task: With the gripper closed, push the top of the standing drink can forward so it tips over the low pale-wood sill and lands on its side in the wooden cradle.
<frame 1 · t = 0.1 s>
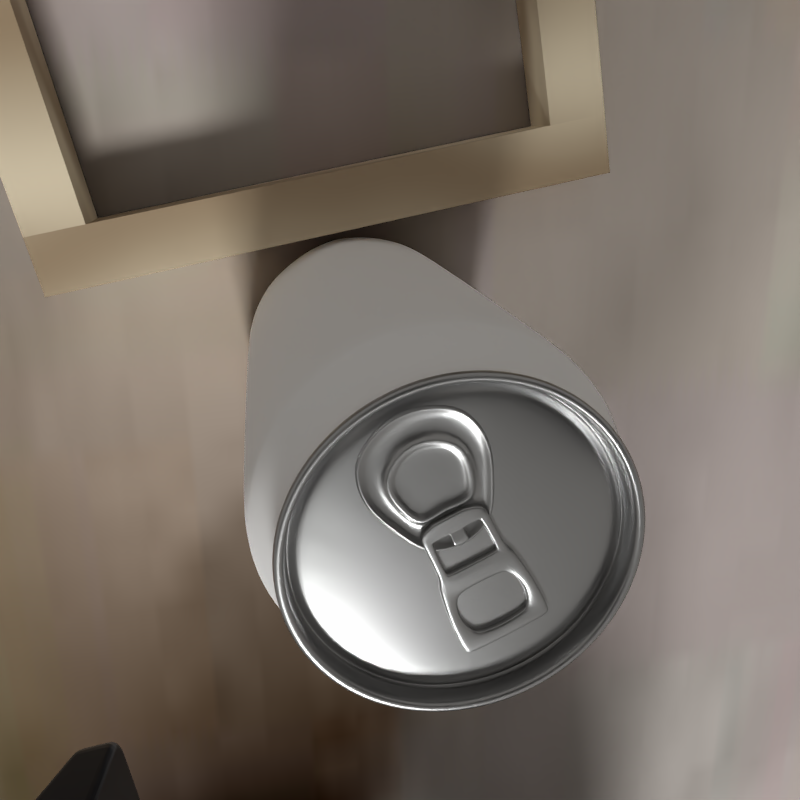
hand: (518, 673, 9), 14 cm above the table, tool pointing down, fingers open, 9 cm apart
cradle: (327, 198, 20), on the table
can: (359, 344, 22), on the table
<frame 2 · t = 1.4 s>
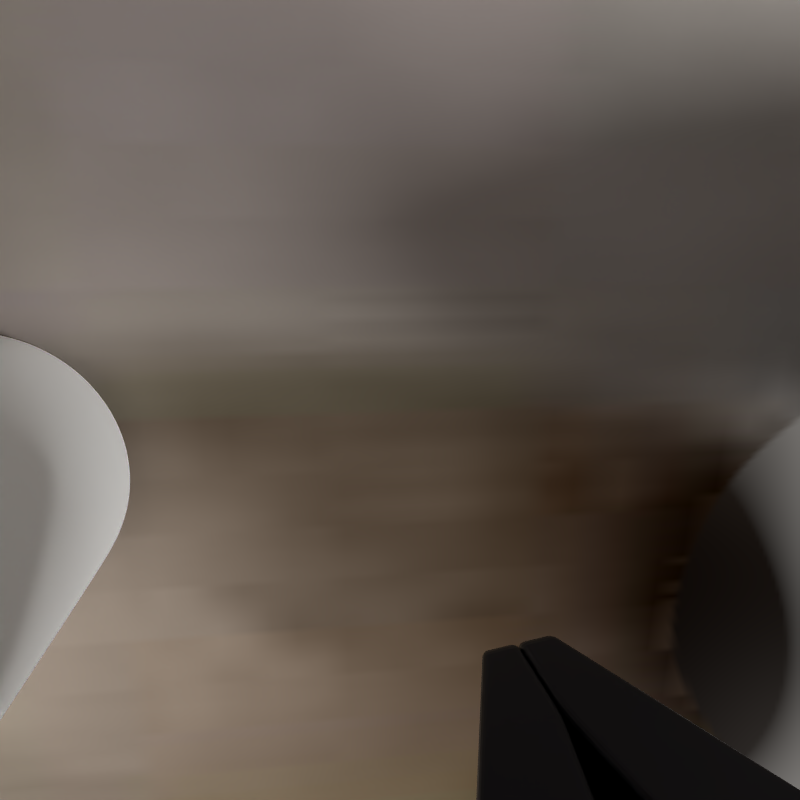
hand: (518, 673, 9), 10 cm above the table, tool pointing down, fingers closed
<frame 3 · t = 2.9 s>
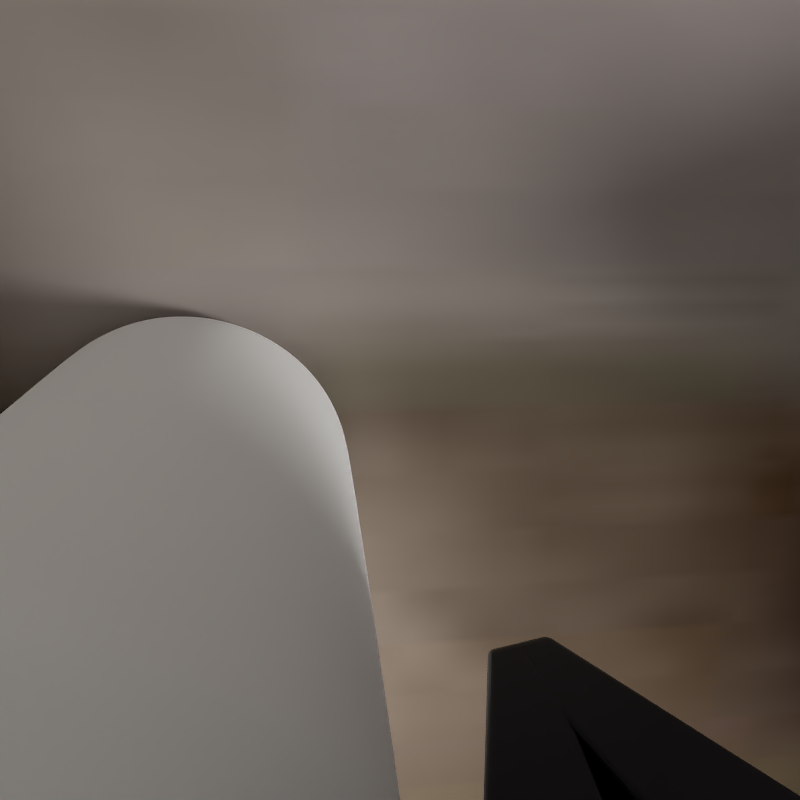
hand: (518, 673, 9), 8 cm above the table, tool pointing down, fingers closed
can: (195, 458, 16), on the table, touching gripper
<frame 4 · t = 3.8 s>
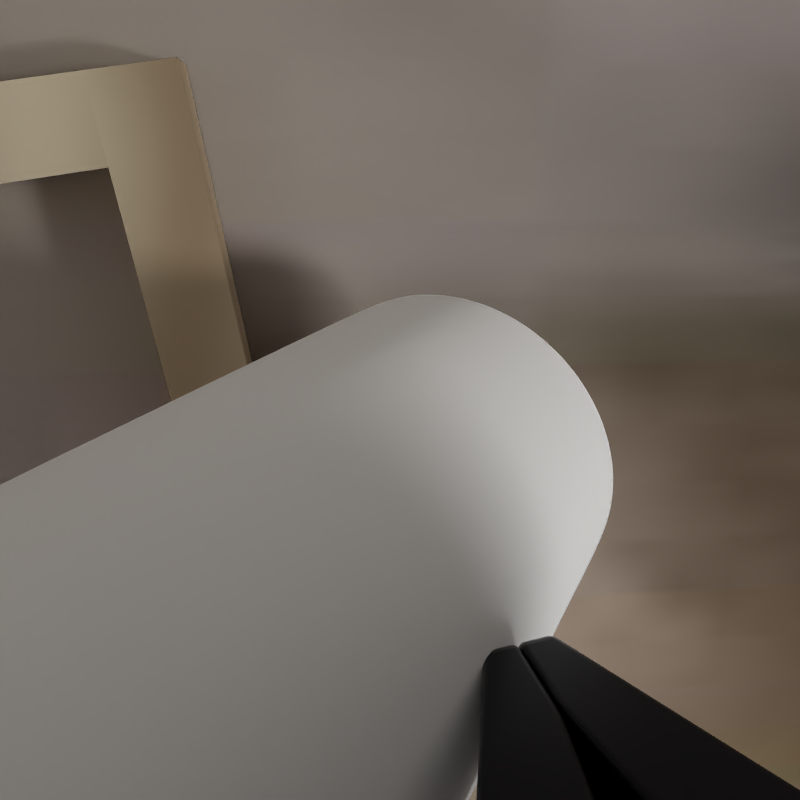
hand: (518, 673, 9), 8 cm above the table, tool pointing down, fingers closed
cradle: (235, 448, 16), on the table
can: (458, 445, 15), point 2 cm above the table
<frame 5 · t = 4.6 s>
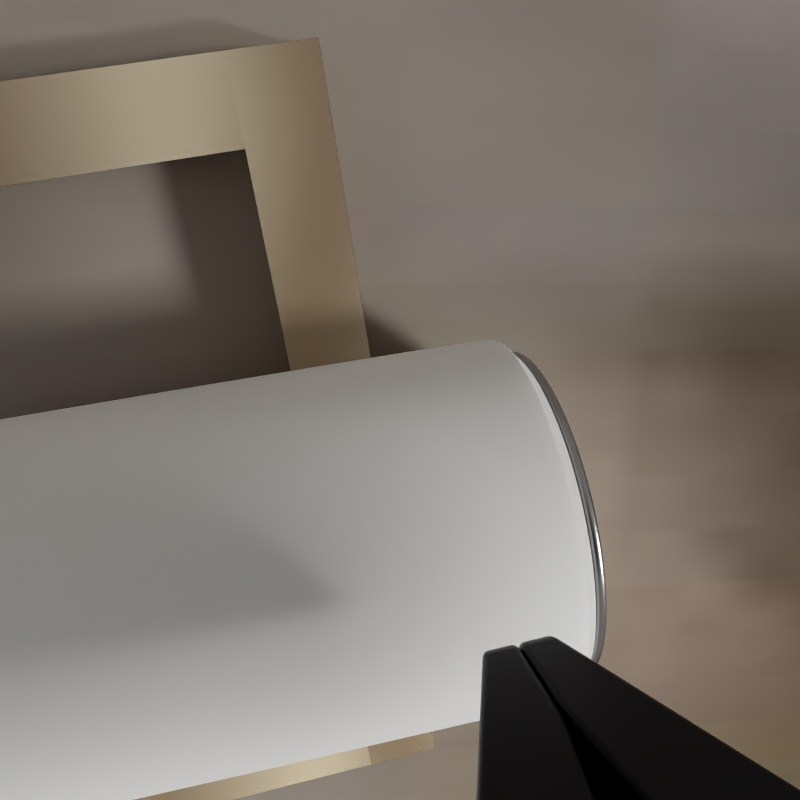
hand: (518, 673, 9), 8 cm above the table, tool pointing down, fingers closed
cradle: (341, 435, 16), on the table
can: (549, 507, 14), point 3 cm above the table
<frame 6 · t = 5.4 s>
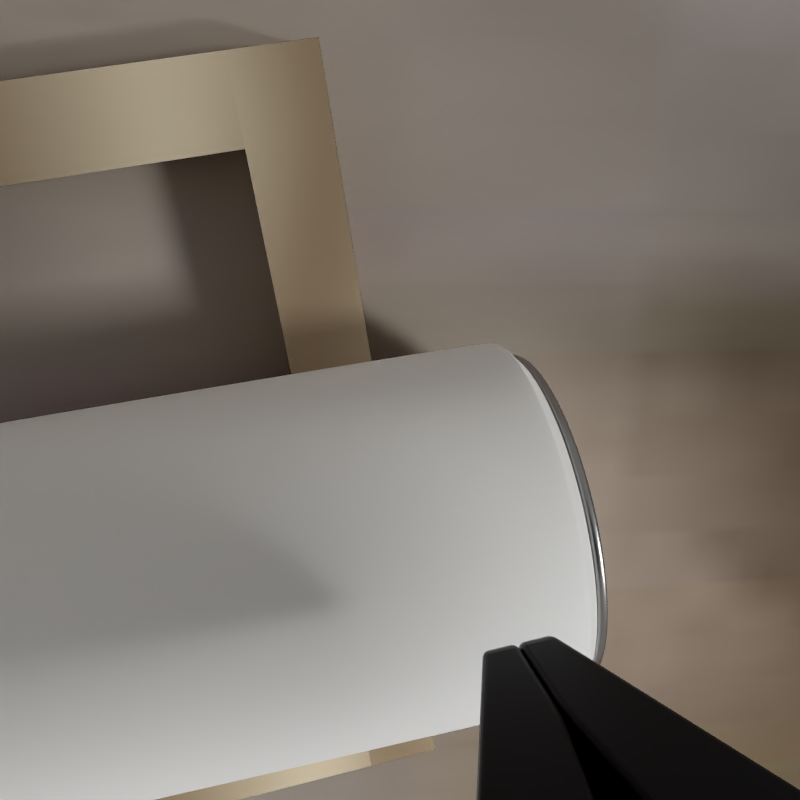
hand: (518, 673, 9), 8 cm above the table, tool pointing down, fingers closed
cradle: (341, 436, 16), on the table
can: (550, 510, 14), point 3 cm above the table
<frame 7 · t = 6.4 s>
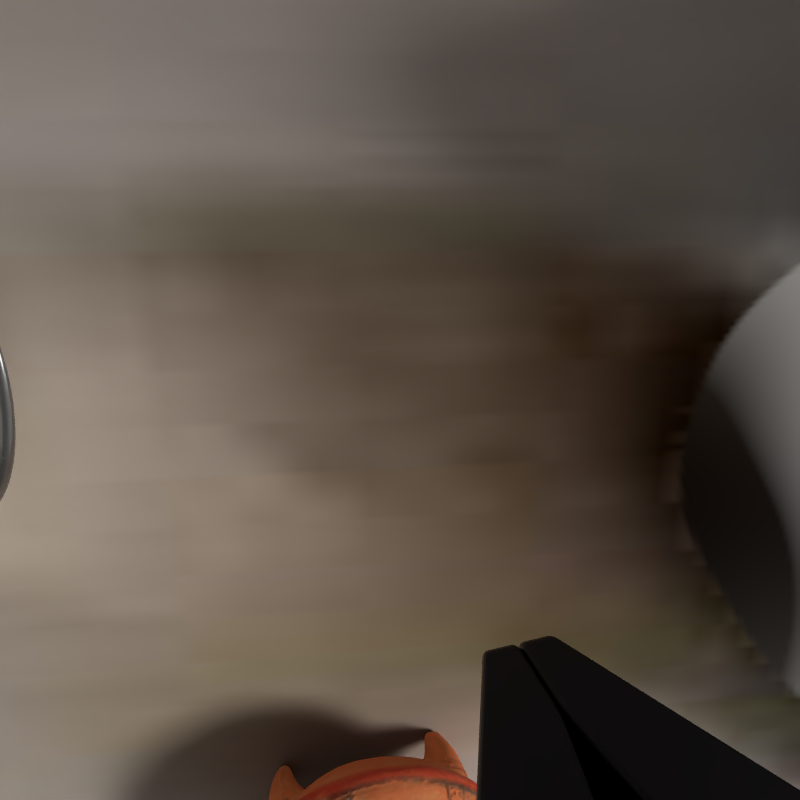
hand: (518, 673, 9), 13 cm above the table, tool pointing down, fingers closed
pot: (364, 780, 25), on the table
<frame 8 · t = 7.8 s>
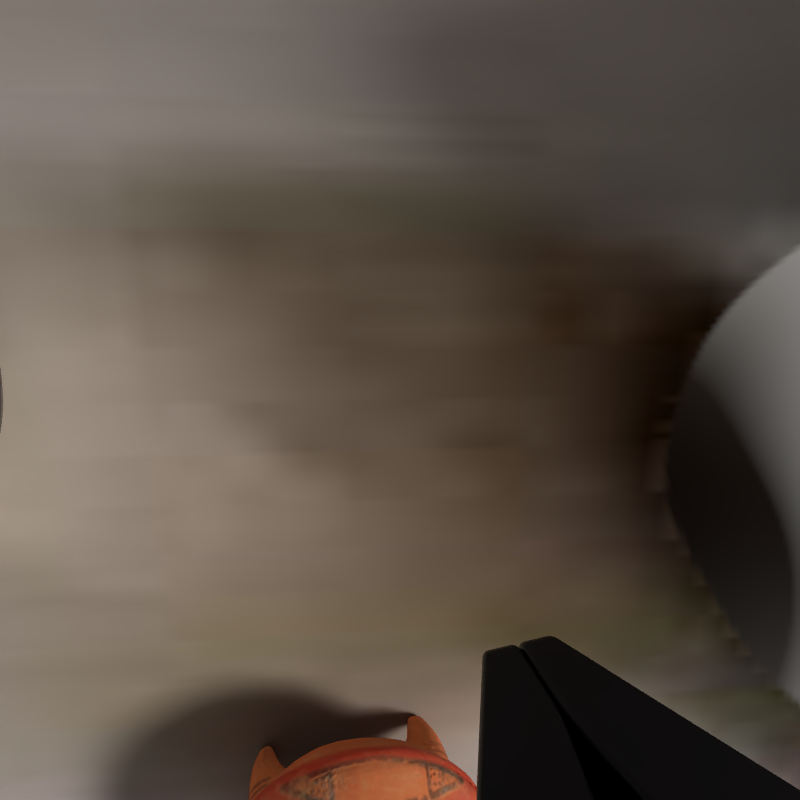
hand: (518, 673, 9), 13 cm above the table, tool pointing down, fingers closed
pot: (346, 763, 26), on the table
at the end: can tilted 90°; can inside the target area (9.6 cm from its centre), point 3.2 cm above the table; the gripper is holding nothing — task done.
